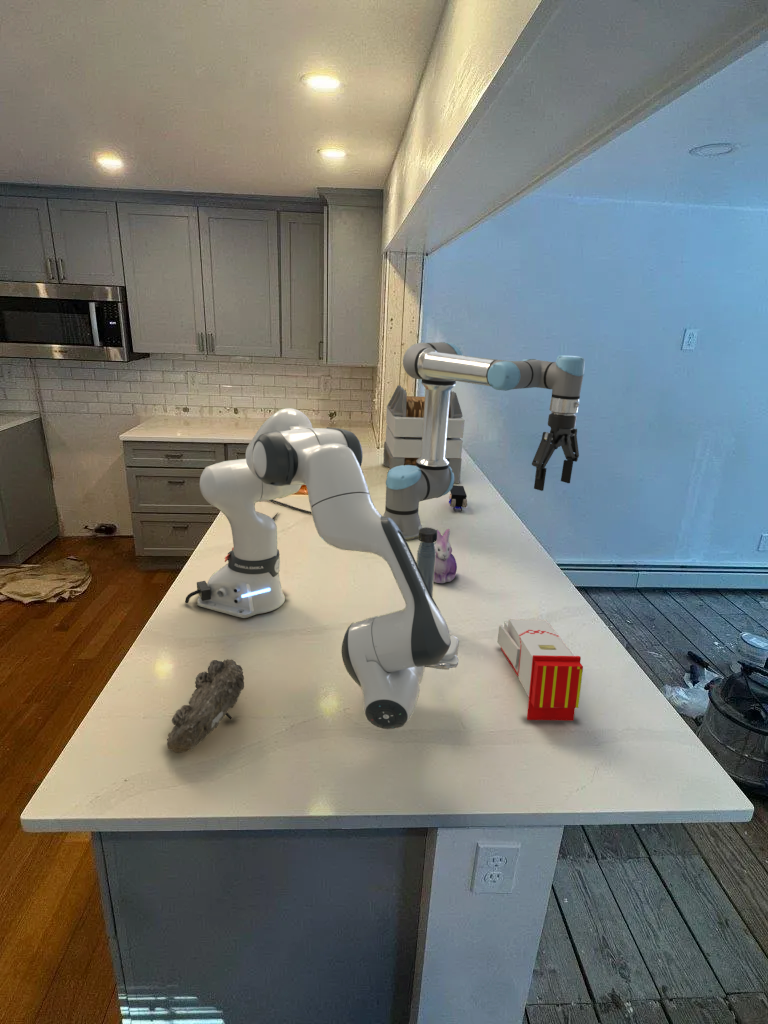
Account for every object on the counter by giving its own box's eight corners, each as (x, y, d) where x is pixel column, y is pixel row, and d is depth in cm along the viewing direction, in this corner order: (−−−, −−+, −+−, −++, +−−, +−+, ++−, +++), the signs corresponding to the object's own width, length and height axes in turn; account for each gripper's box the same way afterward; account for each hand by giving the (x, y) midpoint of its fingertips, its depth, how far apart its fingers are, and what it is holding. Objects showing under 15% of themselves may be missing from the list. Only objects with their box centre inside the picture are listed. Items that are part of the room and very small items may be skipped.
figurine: (438, 587, 162) (442, 538, 157) (419, 572, 171) (423, 526, 166) (465, 581, 166) (470, 534, 161) (446, 567, 175) (450, 522, 170)
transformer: (382, 463, 289) (386, 382, 275) (445, 464, 293) (451, 384, 279) (390, 482, 257) (394, 392, 243) (460, 483, 261) (468, 394, 247)
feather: (285, 507, 224) (287, 503, 224) (267, 531, 198) (270, 526, 197) (281, 504, 224) (284, 500, 223) (263, 528, 197) (265, 524, 197)
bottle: (419, 617, 146) (426, 527, 138) (433, 623, 144) (441, 532, 135) (408, 623, 143) (414, 532, 135) (423, 630, 140) (430, 537, 132)
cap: (425, 534, 139) (426, 526, 138) (440, 539, 136) (441, 530, 135) (414, 539, 135) (415, 530, 135) (429, 544, 133) (430, 535, 132)
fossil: (192, 660, 117) (244, 628, 112) (224, 691, 120) (276, 661, 115) (142, 746, 98) (202, 712, 93) (182, 779, 101) (242, 748, 96)
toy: (543, 604, 136) (592, 662, 106) (538, 656, 138) (584, 727, 109) (493, 603, 135) (528, 661, 106) (489, 655, 138) (522, 726, 109)
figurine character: (467, 516, 223) (461, 500, 237) (469, 499, 220) (463, 483, 233) (450, 516, 223) (446, 499, 236) (452, 498, 220) (447, 483, 233)
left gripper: (458, 655, 104) (463, 618, 117) (350, 640, 108) (366, 606, 120) (455, 684, 106) (460, 644, 119) (350, 668, 110) (366, 632, 122)
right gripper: (548, 419, 148) (537, 496, 155) (598, 411, 163) (586, 482, 171) (525, 414, 153) (515, 489, 160) (575, 407, 169) (564, 476, 176)
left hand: (412, 625), depth 120 cm, fingers open, 8 cm apart
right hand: (552, 485), depth 166 cm, fingers open, 13 cm apart
